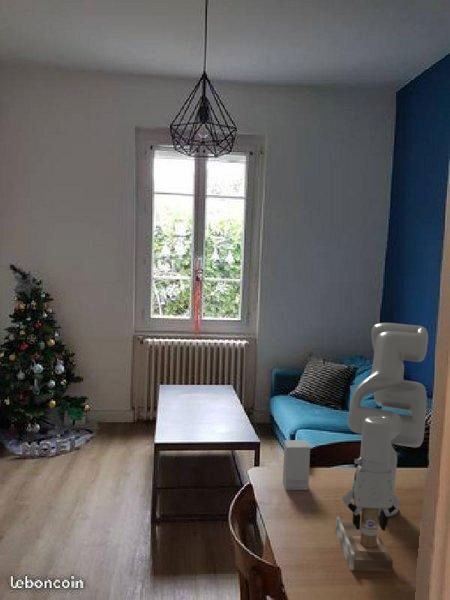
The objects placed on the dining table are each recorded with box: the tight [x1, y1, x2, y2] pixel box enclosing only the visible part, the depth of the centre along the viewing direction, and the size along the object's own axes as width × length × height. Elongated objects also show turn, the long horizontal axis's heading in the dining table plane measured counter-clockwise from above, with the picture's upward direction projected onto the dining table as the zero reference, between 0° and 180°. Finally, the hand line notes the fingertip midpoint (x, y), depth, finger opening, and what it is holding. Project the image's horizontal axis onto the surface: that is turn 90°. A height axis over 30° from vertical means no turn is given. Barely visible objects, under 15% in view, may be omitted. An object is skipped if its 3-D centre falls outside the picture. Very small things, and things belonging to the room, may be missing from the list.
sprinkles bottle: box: [360, 508, 379, 547], centre depth 139 cm, size 5×5×13 cm
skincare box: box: [282, 439, 311, 491], centre depth 177 cm, size 8×7×16 cm
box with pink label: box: [334, 516, 394, 573], centre depth 142 cm, size 18×11×4 cm, turn 0°
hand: (369, 526), depth 140 cm, fingers open, 6 cm apart
